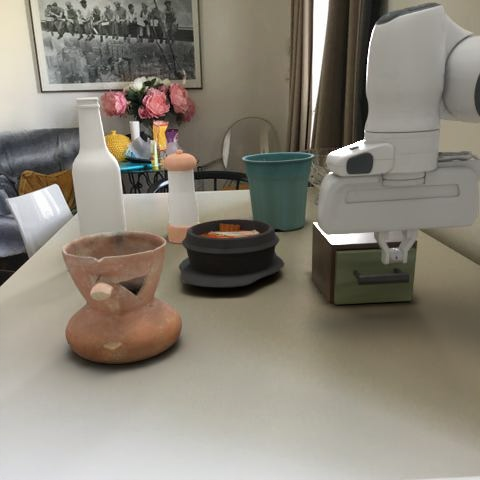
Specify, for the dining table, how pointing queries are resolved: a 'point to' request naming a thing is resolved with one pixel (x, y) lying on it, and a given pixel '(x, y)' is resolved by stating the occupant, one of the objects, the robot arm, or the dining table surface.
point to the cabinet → (329, 244)
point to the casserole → (229, 253)
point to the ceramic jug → (119, 297)
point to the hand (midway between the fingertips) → (393, 262)
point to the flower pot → (279, 188)
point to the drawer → (372, 277)
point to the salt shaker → (181, 195)
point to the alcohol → (96, 176)
